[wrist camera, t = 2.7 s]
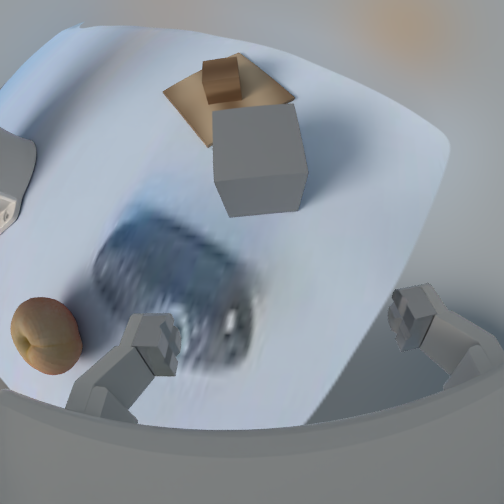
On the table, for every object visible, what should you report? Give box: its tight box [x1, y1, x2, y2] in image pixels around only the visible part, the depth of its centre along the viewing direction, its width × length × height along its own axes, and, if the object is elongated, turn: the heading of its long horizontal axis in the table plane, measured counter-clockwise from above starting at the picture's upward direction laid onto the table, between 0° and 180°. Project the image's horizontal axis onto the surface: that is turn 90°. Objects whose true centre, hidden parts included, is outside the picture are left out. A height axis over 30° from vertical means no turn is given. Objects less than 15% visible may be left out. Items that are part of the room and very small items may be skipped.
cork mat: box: [163, 53, 295, 147], centre depth 30 cm, size 12×12×1 cm
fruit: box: [11, 297, 83, 375], centre depth 21 cm, size 8×8×8 cm
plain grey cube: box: [212, 104, 308, 218], centre depth 23 cm, size 7×7×8 cm
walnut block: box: [202, 57, 242, 105], centre depth 28 cm, size 4×4×4 cm
